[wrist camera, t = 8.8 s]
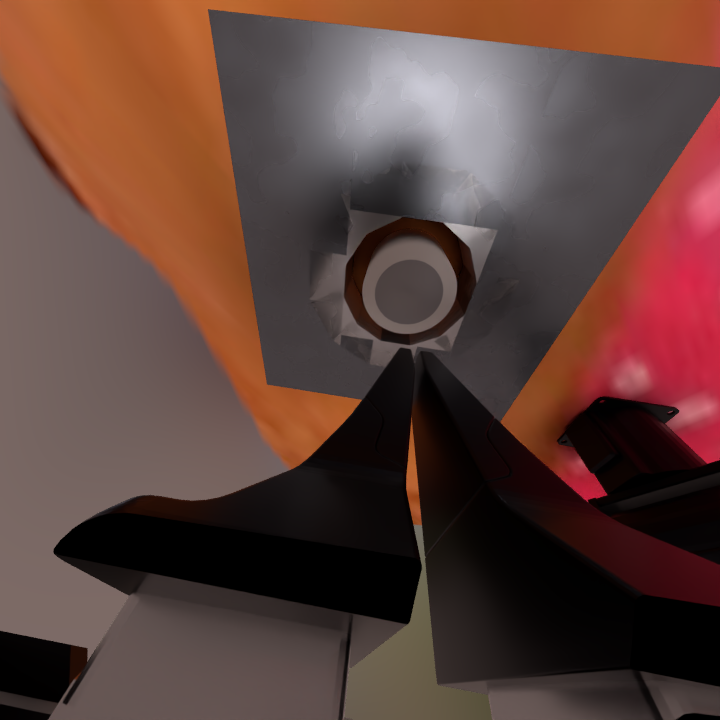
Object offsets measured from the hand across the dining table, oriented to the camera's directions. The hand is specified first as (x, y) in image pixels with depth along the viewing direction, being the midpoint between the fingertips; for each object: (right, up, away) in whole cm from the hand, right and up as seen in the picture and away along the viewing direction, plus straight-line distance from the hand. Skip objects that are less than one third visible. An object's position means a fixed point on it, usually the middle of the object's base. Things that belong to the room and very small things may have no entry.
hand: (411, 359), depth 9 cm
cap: (+1, +6, +8) cm, 10 cm away
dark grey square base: (+1, +6, +8) cm, 10 cm away
